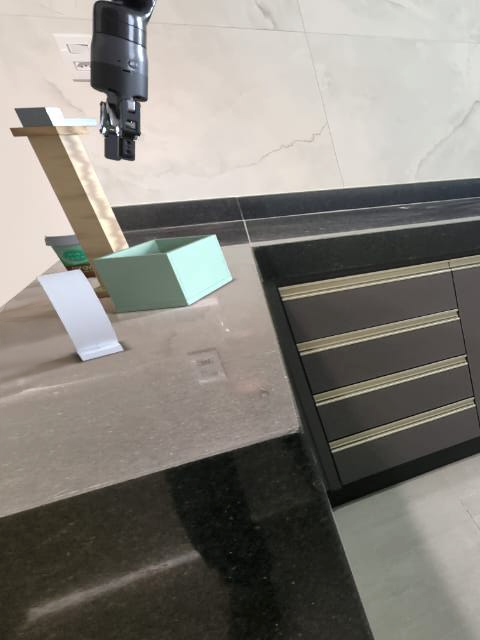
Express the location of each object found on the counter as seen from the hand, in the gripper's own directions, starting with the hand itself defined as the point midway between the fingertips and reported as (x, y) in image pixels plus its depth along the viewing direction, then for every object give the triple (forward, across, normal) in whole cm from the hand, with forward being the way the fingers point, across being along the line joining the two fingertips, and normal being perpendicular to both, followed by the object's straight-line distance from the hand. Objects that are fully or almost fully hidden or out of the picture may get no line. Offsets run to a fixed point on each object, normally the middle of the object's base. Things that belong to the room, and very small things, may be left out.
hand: (119, 160), depth 98 cm
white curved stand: (+31, +30, -8) cm, 44 cm away
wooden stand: (+26, -14, +4) cm, 30 cm away
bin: (+24, +3, +8) cm, 26 cm away
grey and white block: (-5, -17, -4) cm, 19 cm away
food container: (+26, -39, +4) cm, 47 cm away
